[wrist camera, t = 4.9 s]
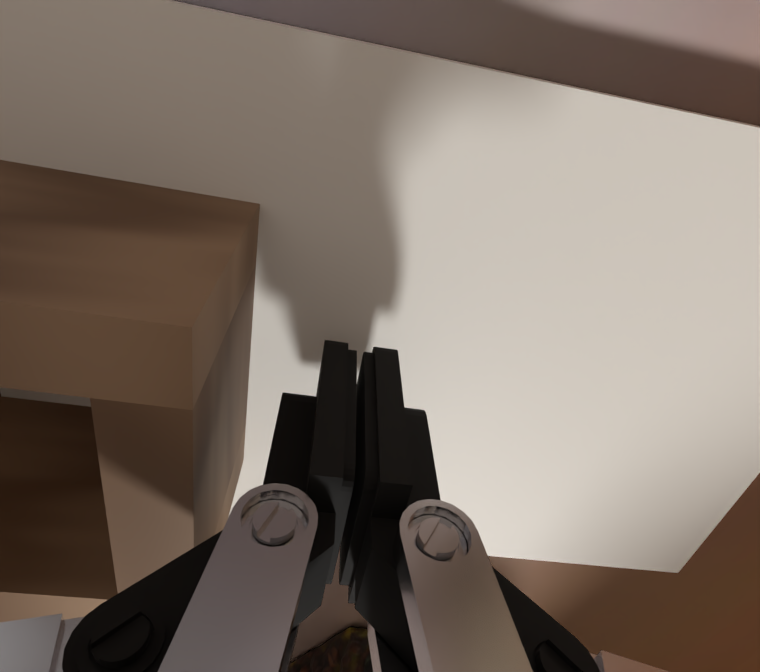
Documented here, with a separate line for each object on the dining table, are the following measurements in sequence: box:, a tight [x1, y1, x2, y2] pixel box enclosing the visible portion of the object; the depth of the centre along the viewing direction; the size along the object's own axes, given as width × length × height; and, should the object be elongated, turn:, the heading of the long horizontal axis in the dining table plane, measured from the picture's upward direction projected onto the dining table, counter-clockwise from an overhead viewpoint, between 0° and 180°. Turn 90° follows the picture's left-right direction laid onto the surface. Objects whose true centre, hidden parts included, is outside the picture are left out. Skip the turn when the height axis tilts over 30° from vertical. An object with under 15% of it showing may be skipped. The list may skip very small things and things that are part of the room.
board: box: [0, 0, 760, 573], centre depth 10 cm, size 26×14×8 cm, turn 79°
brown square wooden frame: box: [0, 160, 260, 623], centre depth 10 cm, size 8×8×5 cm
